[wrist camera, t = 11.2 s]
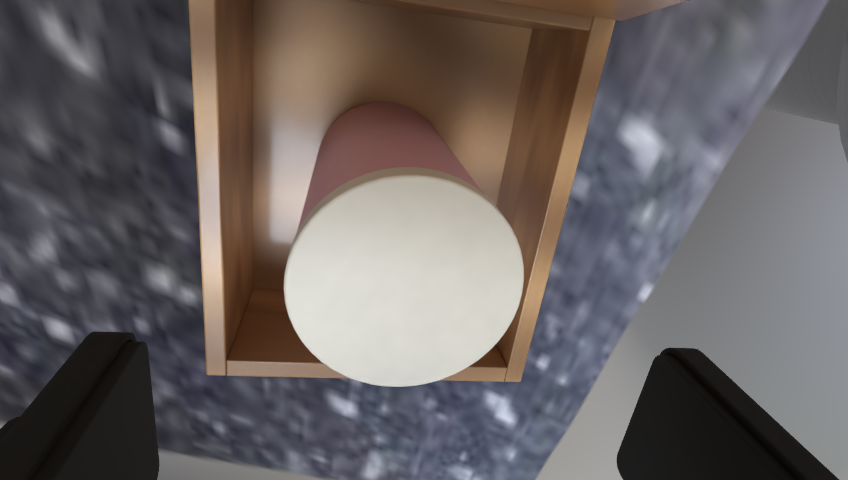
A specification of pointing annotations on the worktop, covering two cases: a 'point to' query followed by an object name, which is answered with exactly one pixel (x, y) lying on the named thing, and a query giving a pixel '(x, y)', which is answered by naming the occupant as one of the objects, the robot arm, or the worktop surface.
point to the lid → (601, 7)
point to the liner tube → (398, 254)
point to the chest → (366, 83)
